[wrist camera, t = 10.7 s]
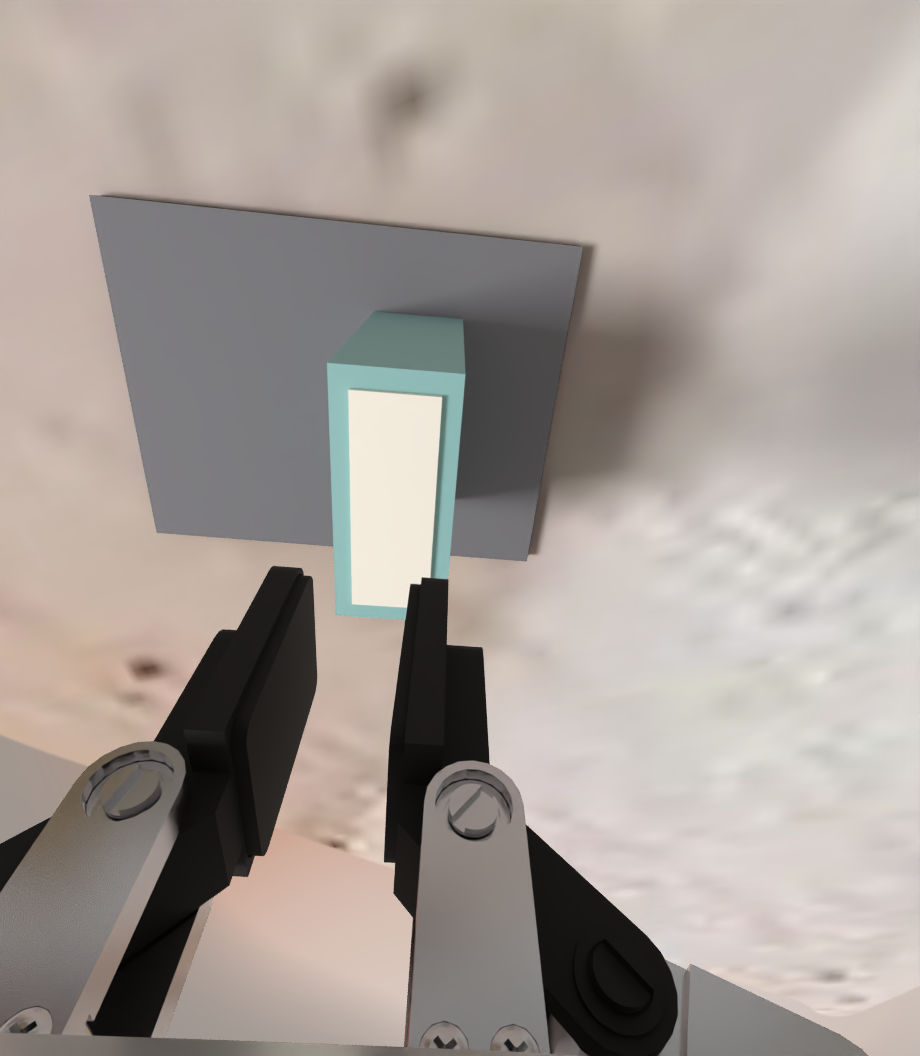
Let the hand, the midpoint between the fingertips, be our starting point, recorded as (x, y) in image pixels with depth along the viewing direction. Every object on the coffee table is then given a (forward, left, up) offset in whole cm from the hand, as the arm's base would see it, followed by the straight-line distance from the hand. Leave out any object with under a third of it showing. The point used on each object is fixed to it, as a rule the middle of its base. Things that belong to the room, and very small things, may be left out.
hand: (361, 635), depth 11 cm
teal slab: (0, 0, -15) cm, 15 cm away
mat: (0, -3, -15) cm, 15 cm away
